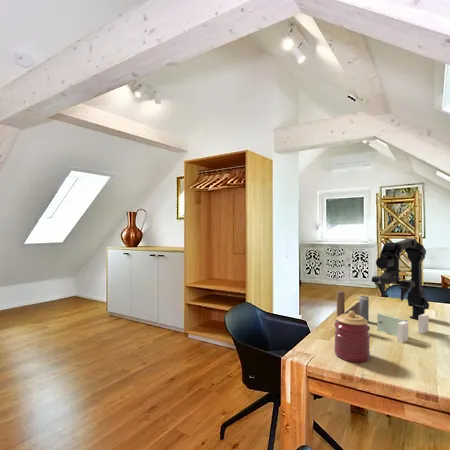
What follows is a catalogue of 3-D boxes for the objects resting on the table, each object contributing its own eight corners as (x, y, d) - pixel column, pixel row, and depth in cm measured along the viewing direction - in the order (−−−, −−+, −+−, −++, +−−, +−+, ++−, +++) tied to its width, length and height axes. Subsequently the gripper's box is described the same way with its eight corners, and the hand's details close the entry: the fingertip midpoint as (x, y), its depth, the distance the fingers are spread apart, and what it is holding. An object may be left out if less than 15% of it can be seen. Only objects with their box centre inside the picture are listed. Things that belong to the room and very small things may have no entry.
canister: (352, 365, 111) (352, 317, 111) (327, 351, 123) (327, 308, 123) (377, 359, 116) (377, 313, 116) (351, 346, 128) (351, 305, 128)
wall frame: (423, 329, 149) (424, 313, 149) (428, 331, 147) (428, 314, 147) (397, 341, 134) (397, 323, 134) (402, 342, 133) (402, 324, 133)
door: (407, 338, 138) (408, 320, 138) (404, 339, 136) (404, 321, 136) (379, 329, 149) (379, 313, 149) (375, 330, 148) (375, 314, 148)
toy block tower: (357, 332, 145) (357, 295, 145) (335, 327, 152) (335, 291, 152) (359, 330, 148) (360, 293, 148) (338, 325, 155) (338, 290, 155)
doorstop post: (362, 319, 165) (362, 295, 165) (370, 321, 161) (370, 297, 161) (357, 321, 162) (357, 296, 162) (365, 323, 159) (365, 298, 159)
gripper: (365, 266, 155) (365, 297, 155) (404, 271, 139) (404, 305, 139) (377, 265, 161) (377, 294, 161) (415, 269, 146) (415, 302, 146)
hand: (392, 298), depth 151 cm, fingers open, 9 cm apart
